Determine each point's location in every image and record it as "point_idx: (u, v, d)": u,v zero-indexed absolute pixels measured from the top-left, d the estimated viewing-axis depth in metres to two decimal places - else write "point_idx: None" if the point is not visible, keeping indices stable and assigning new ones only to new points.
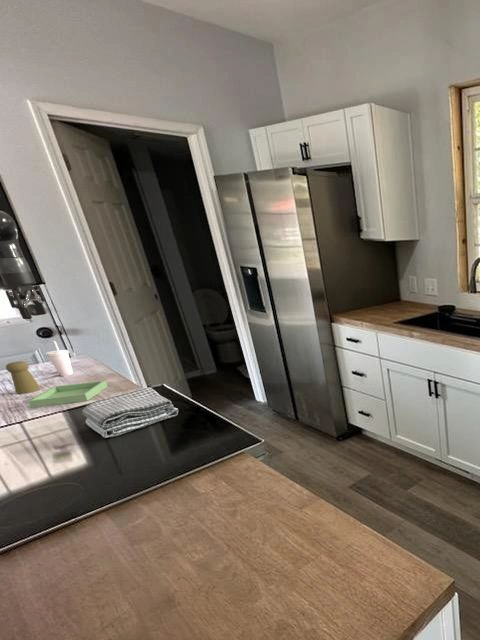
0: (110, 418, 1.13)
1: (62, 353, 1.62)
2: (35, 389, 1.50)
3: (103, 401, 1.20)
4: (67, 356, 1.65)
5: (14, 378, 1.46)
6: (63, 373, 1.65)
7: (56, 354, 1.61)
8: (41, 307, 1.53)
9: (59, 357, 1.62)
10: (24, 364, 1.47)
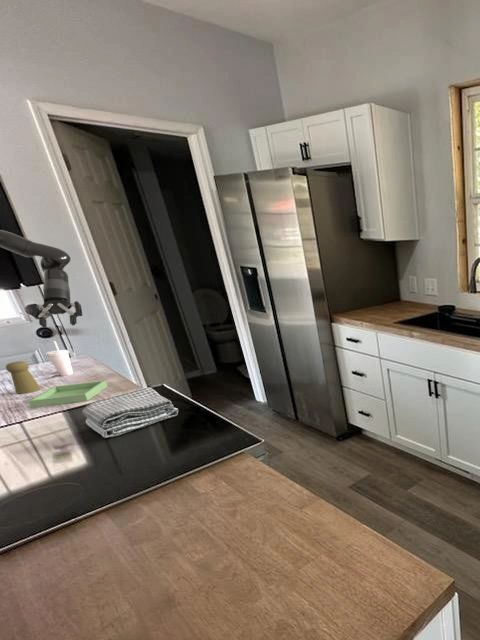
0: (110, 418, 1.13)
1: (62, 353, 1.62)
2: (35, 389, 1.50)
3: (103, 401, 1.20)
4: (67, 356, 1.65)
5: (14, 378, 1.46)
6: (63, 373, 1.65)
7: (56, 354, 1.61)
8: None
9: (59, 357, 1.62)
10: (24, 364, 1.47)
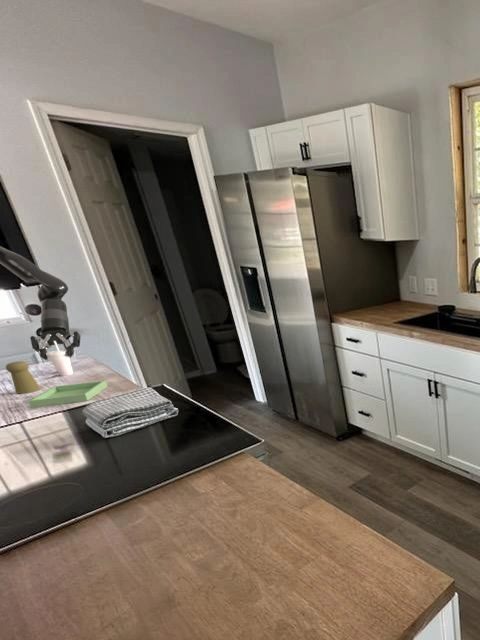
0: (110, 418, 1.13)
1: (62, 353, 1.62)
2: (35, 389, 1.50)
3: (103, 401, 1.20)
4: (67, 356, 1.65)
5: (14, 378, 1.46)
6: (63, 373, 1.65)
7: (56, 354, 1.61)
8: None
9: (59, 357, 1.62)
10: (24, 364, 1.47)
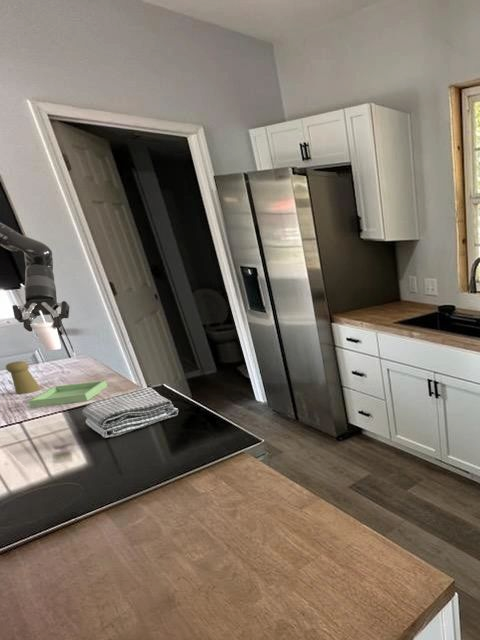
0: (110, 418, 1.13)
1: (49, 324, 1.45)
2: (35, 389, 1.50)
3: (103, 401, 1.20)
4: (54, 328, 1.47)
5: (14, 378, 1.46)
6: (50, 347, 1.47)
7: (42, 325, 1.44)
8: None
9: (45, 329, 1.45)
10: (24, 364, 1.47)
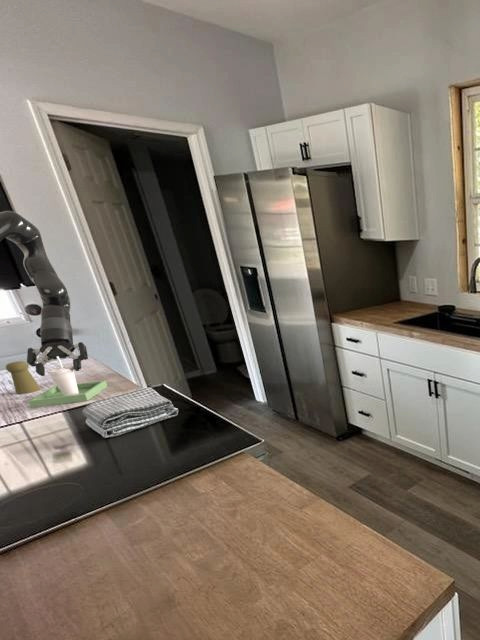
0: (110, 418, 1.13)
1: (66, 370, 1.40)
2: (35, 389, 1.50)
3: (103, 401, 1.20)
4: (72, 374, 1.42)
5: (14, 378, 1.46)
6: (67, 393, 1.42)
7: (59, 372, 1.39)
8: None
9: (63, 375, 1.40)
10: (24, 364, 1.47)
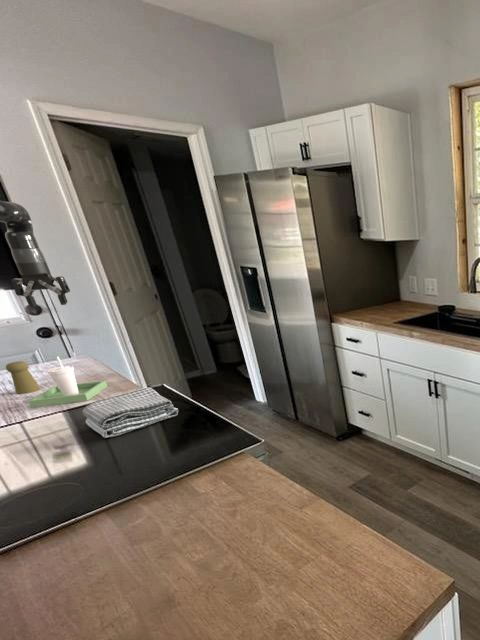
0: (110, 418, 1.13)
1: (66, 370, 1.40)
2: (35, 389, 1.50)
3: (103, 401, 1.20)
4: (72, 374, 1.42)
5: (14, 378, 1.46)
6: (67, 393, 1.42)
7: (59, 372, 1.39)
8: None
9: (63, 375, 1.40)
10: (24, 364, 1.47)
